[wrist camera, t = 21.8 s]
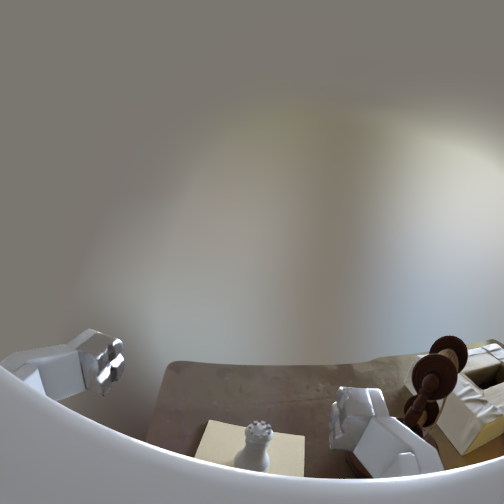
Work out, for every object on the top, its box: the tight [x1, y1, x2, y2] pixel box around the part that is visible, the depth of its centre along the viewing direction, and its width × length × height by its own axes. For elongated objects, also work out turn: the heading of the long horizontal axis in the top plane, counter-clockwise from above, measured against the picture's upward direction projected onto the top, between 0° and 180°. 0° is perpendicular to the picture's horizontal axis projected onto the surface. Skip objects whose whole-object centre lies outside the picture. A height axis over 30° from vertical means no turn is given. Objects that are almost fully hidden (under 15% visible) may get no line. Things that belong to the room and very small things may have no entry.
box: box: [404, 344, 504, 456], centre depth 40 cm, size 23×8×32 cm
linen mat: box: [194, 420, 305, 477], centre depth 30 cm, size 14×14×1 cm
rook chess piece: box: [234, 421, 274, 473], centre depth 29 cm, size 4×4×8 cm
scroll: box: [346, 336, 468, 479], centre depth 29 cm, size 15×15×20 cm
